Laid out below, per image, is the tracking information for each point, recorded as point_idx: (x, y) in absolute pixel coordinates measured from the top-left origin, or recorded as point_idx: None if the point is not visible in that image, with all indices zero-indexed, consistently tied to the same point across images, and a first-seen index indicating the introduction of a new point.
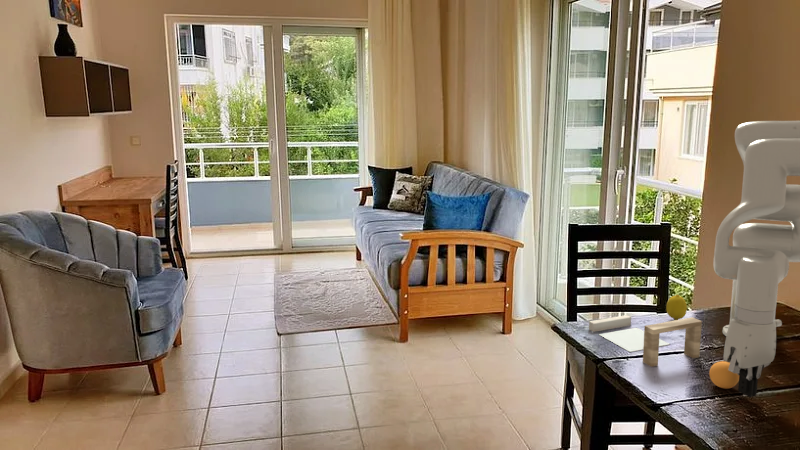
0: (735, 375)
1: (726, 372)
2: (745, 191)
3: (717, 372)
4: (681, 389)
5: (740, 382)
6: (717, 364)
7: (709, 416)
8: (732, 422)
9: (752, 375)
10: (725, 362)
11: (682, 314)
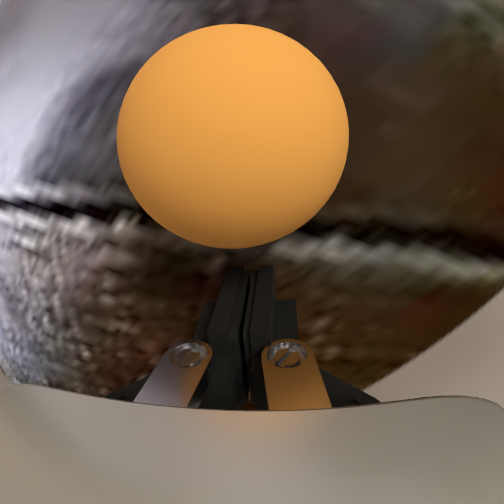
0: (241, 247)
1: (165, 225)
2: None
3: (122, 171)
4: (33, 108)
5: (198, 331)
6: (137, 118)
7: (38, 322)
8: (87, 373)
9: (255, 407)
10: (213, 140)
11: None
